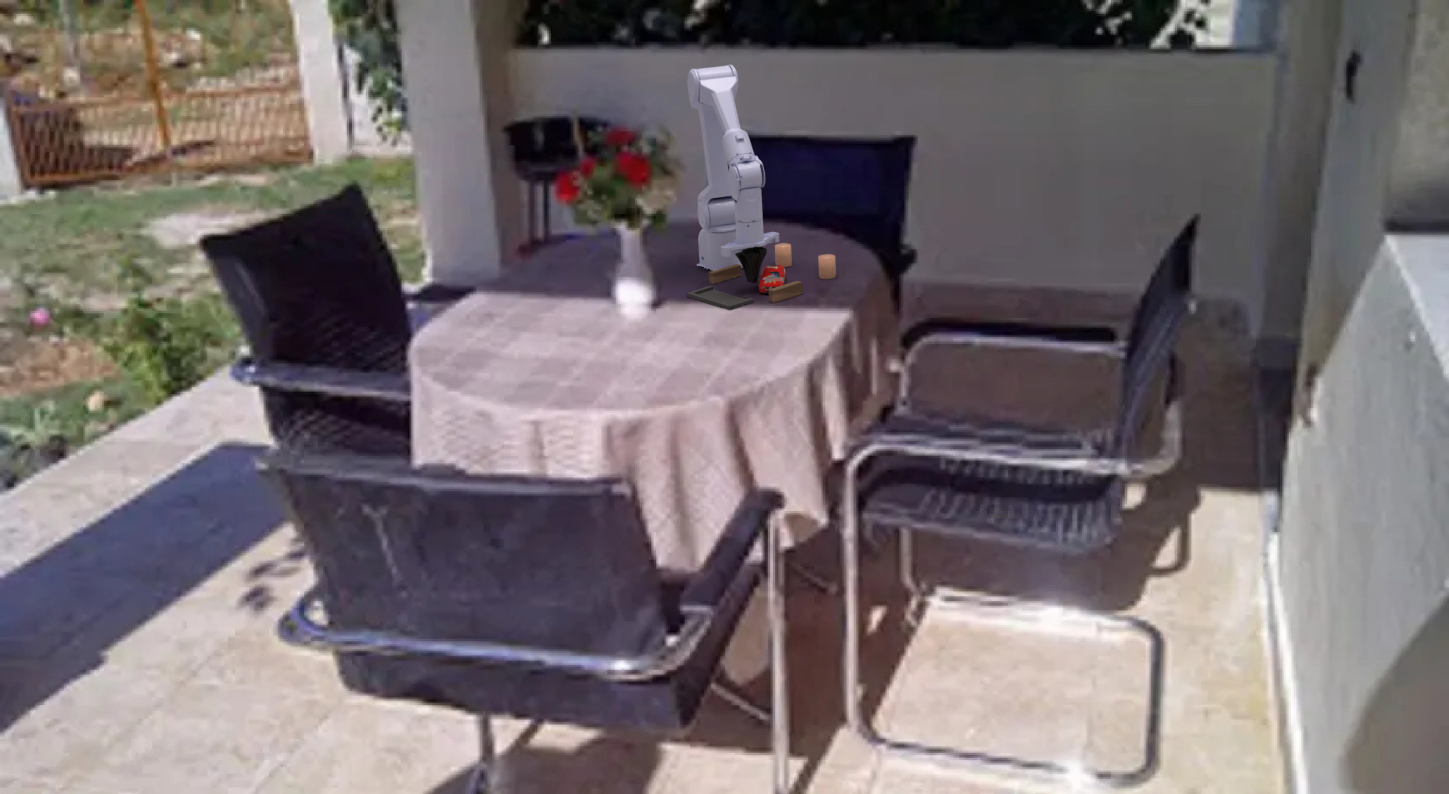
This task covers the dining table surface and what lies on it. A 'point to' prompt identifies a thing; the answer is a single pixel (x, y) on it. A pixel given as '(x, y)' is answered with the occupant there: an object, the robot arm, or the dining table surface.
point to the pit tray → (718, 298)
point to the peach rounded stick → (783, 254)
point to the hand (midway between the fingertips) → (752, 281)
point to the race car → (772, 278)
